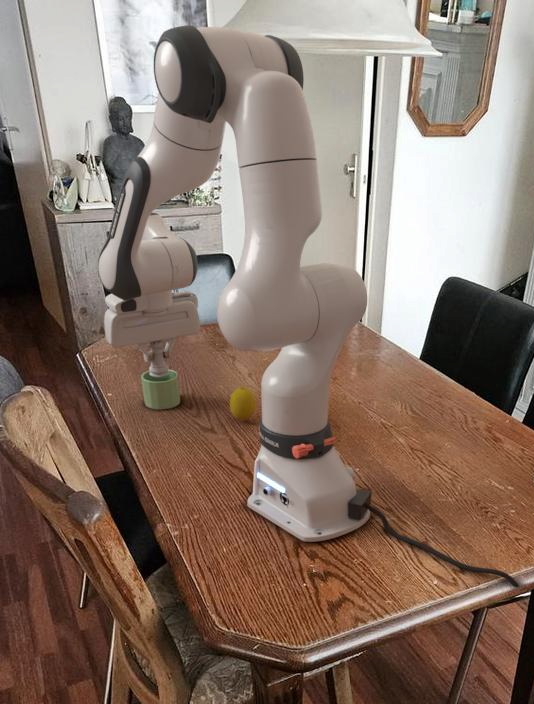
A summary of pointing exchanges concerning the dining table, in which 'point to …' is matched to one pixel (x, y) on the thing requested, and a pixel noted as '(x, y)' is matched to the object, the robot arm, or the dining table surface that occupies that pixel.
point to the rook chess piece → (158, 361)
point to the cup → (161, 390)
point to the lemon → (242, 403)
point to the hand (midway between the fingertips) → (157, 359)
